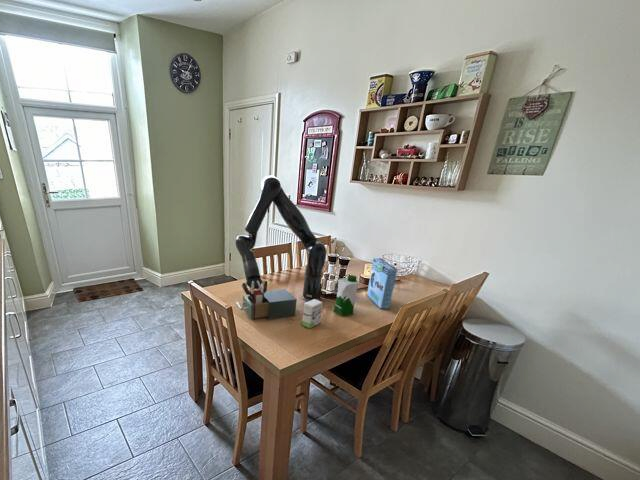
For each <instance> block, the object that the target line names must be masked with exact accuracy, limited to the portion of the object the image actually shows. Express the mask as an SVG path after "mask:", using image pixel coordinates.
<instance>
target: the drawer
mask: <svg viewBox="0 0 640 480" xmlns="http://www.w3.org/2000/svg"><path fill="white" fill-rule="evenodd" d="M235 305H236V306H237V307H238V309H239V310H240V311H241V312H242V311H244V312H245V314H246V316H247V317H248V318H249V319H250V321H252V320H254V319H259V318H267V317H266V316H268V314H269V302H268V301H267V300H266V299H264V301H263V302H262V303H261V304H255V313H254V311H253V304H252V301H251V296H250V295H247V294H243V295H242V302H239V301H237V302H236V304H235Z"/></svg>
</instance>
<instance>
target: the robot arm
mask: <svg viewBox="0 0 640 480" xmlns="http://www.w3.org/2000/svg"><path fill="white" fill-rule="evenodd" d="M281 184H282V183H281V181H280V180H279V179H278V178H277V177H276V176H274V175H266V176H265V177H264V178H263V179H262V181H261V186H260V187H261V193H260V196H259V198H258V201H257V203H256V205H255V207H254V209H253V210H252V212H251V214H250V215H249V218H248V220H247V222H246V224H245V227H244V231H245V232H246V233H248V236H247V235H243V234H241V235H238V236H237V237H236V239H235V247H236V249H237V251H238V253H239V255H240V257H241V260H242V265H243V266H242V267H243V273H244V277H245V282H243V283H242V284H241V287H242V290H243V292H244V293H245V295H246V296H251V301H253V302H255V297H254V294H253V291H255V290H256V291H257V290H260V291H261V292H262V294H263V301H264V299H265V298H264V293H265V292H266V291H268V281H267V280H262V277H261V274H260V269H259V265H258V264H259V263H258V262H257V258H256V254H255V252H254V251H252V250H253V248H255V246H256V242H257V238H258V236H257V235H258V232H259V230H260V228H261V226H262V223H263V222H264V219H265V217H266V215H267V212H268V211H269V208H270V207H271V206H272V203H273V204H274V205H275V208H276V209H277V210H278V212H279V214H280V216H281V218H282V220H283V221H284V222H285V224H286V226H287V227H288V228H289V229H290V231H291V232H292V233H293V234H294V235H295V236H296V237H297V238H298V239H299V241H300V242H301V244H302V245H303V247H304V249H305V251H306V253H307V255H308V260H307V263H306V265H305V270H304V280H303V290H302V296H301V297H302V300H305V301H307V302H309V301H311V300H313V299H316V300H318V301H320V300H321V297H322V295H323V294H324V295H326V296H332V295H335V294H336V293H333V292H329V293H328V294H326V293H327V292H326V291H325V290H322V289H323V283H322V278H323V277H322V276H323V269H324V267H325V262H326V258H327V247H326V246H325V244H323V243H322V241H320V240H319V239H318V238H317V237H316V236H315V234H314V233H313V232H312V230H311V227H310V226H309V224H308V222H307V219H306V217H305V216H304V215H303V213H302V212H301V210H300V209H299V208H298V206H296V205H295V203H294V201H292V200H291V199H290V198H289V197H288V195H287V194H286V192H285V191H284V189H283V186H282V185H281ZM401 280H402V279H401V278H399V279H395V283H396V282H400V281H401ZM248 287H249V288H248ZM365 289H366V290H367V289H368V286H364V287H358V288H357V291H361V290H365Z"/></svg>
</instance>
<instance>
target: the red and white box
mask: <svg viewBox="0 0 640 480" xmlns="http://www.w3.org/2000/svg"><path fill="white" fill-rule="evenodd" d="M253 294H254V297H255V302H253V301H252V304H253V311H254V313H255V304H261V303H262V302H263V294H262V292H261V291H260V290H257V289H256V290H254V291H253Z"/></svg>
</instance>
